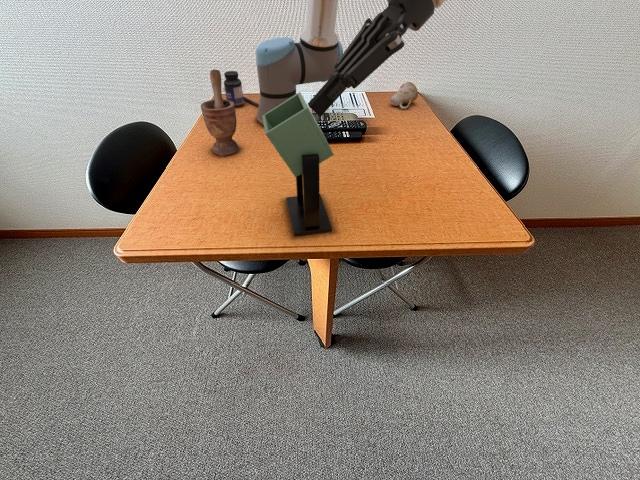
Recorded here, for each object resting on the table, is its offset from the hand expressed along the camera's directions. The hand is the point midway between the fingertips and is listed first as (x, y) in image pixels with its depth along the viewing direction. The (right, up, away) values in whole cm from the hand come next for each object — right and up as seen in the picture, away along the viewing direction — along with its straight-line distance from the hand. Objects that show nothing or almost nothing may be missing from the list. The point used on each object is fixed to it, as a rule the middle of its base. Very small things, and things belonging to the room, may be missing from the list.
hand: (314, 110), depth 60 cm
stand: (-2, -17, +15) cm, 23 cm away
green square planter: (-1, -7, +6) cm, 9 cm away
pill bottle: (-30, +27, +66) cm, 77 cm away
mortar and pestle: (-27, +4, +40) cm, 48 cm away
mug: (+32, +27, +66) cm, 78 cm away
